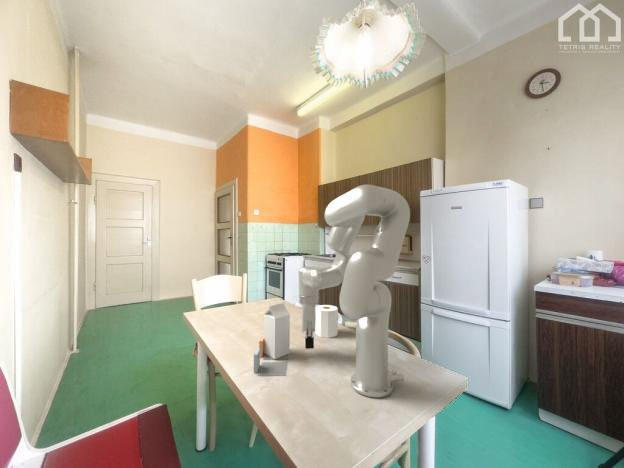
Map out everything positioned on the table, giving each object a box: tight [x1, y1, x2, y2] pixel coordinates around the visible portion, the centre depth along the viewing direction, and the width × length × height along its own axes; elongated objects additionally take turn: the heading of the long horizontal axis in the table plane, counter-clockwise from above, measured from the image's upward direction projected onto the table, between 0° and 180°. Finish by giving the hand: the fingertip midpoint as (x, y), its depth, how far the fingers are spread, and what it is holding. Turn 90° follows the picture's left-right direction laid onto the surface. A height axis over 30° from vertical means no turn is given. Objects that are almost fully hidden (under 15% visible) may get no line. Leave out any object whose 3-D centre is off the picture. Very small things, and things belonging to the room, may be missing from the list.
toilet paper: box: [315, 304, 339, 339], centre depth 122 cm, size 10×10×12 cm
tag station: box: [253, 335, 289, 377], centre depth 95 cm, size 11×20×6 cm, turn 2°
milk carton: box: [263, 302, 291, 359], centre depth 101 cm, size 7×7×19 cm
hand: (309, 347), depth 100 cm, fingers closed
